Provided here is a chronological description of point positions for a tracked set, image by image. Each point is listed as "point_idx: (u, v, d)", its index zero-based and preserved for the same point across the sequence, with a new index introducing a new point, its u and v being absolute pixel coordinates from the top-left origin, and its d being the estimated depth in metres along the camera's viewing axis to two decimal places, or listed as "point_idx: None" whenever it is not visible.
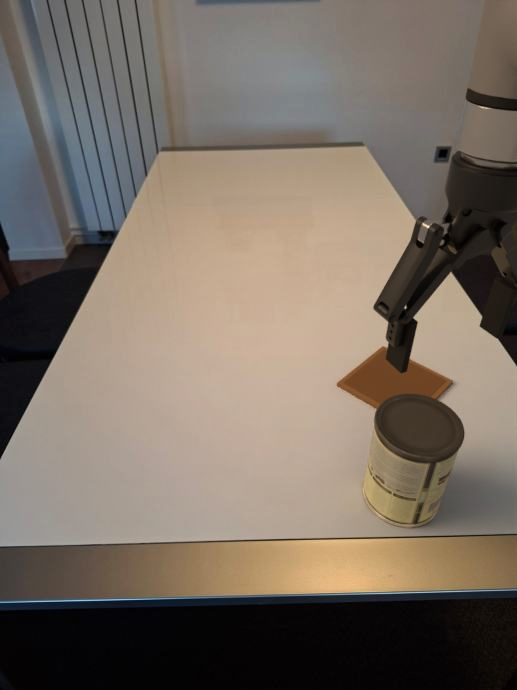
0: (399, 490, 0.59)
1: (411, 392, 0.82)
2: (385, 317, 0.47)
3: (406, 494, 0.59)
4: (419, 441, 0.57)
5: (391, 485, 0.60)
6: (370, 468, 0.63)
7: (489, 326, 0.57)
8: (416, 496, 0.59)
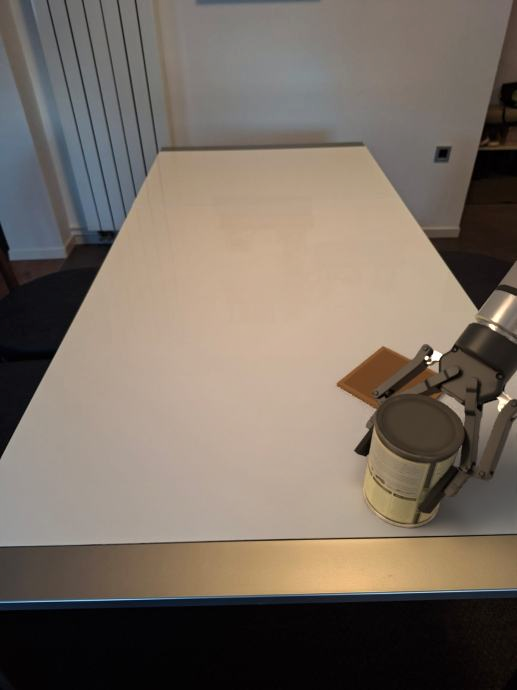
0: (399, 490, 0.59)
1: None
2: None
3: (406, 494, 0.59)
4: (419, 441, 0.57)
5: (391, 485, 0.60)
6: (370, 468, 0.63)
7: None
8: (416, 496, 0.59)
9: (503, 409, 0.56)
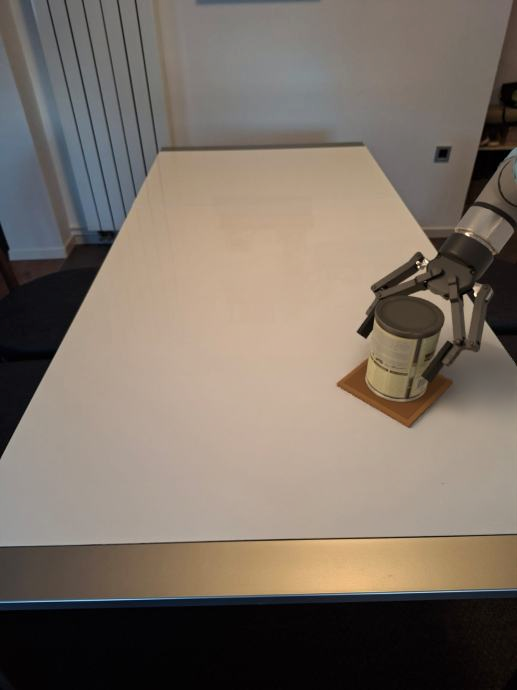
0: (394, 367, 0.76)
1: None
2: None
3: (399, 369, 0.76)
4: (409, 324, 0.73)
5: (388, 363, 0.76)
6: (371, 354, 0.79)
7: None
8: (407, 371, 0.76)
9: (478, 293, 0.72)
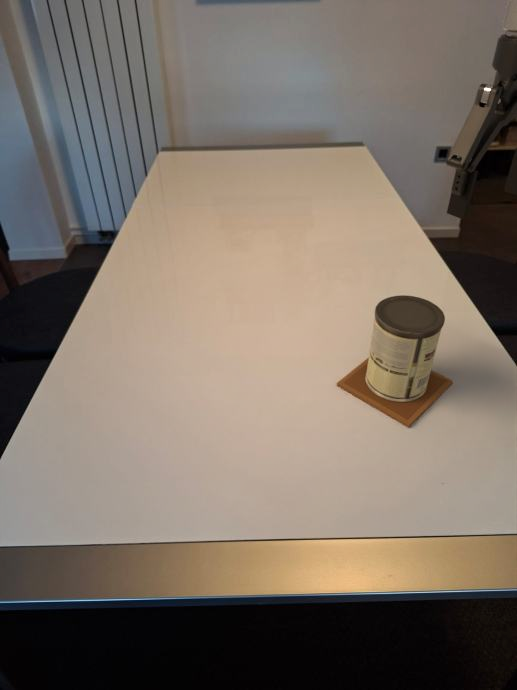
0: (394, 367, 0.76)
1: None
2: (459, 165, 0.63)
3: (399, 369, 0.76)
4: (409, 324, 0.73)
5: (388, 363, 0.76)
6: (371, 354, 0.79)
7: (512, 188, 0.75)
8: (407, 371, 0.76)
9: None
